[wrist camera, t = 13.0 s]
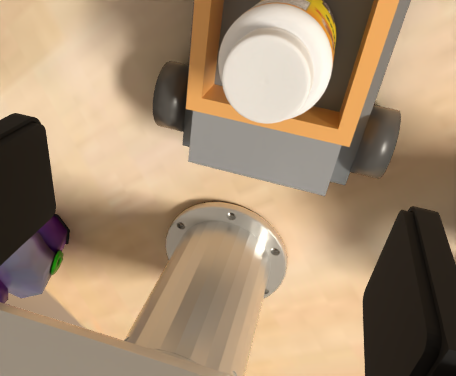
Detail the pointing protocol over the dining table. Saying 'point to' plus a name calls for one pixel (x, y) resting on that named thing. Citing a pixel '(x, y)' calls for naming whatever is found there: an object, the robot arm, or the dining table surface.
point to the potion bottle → (34, 261)
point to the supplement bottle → (278, 59)
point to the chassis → (300, 125)
